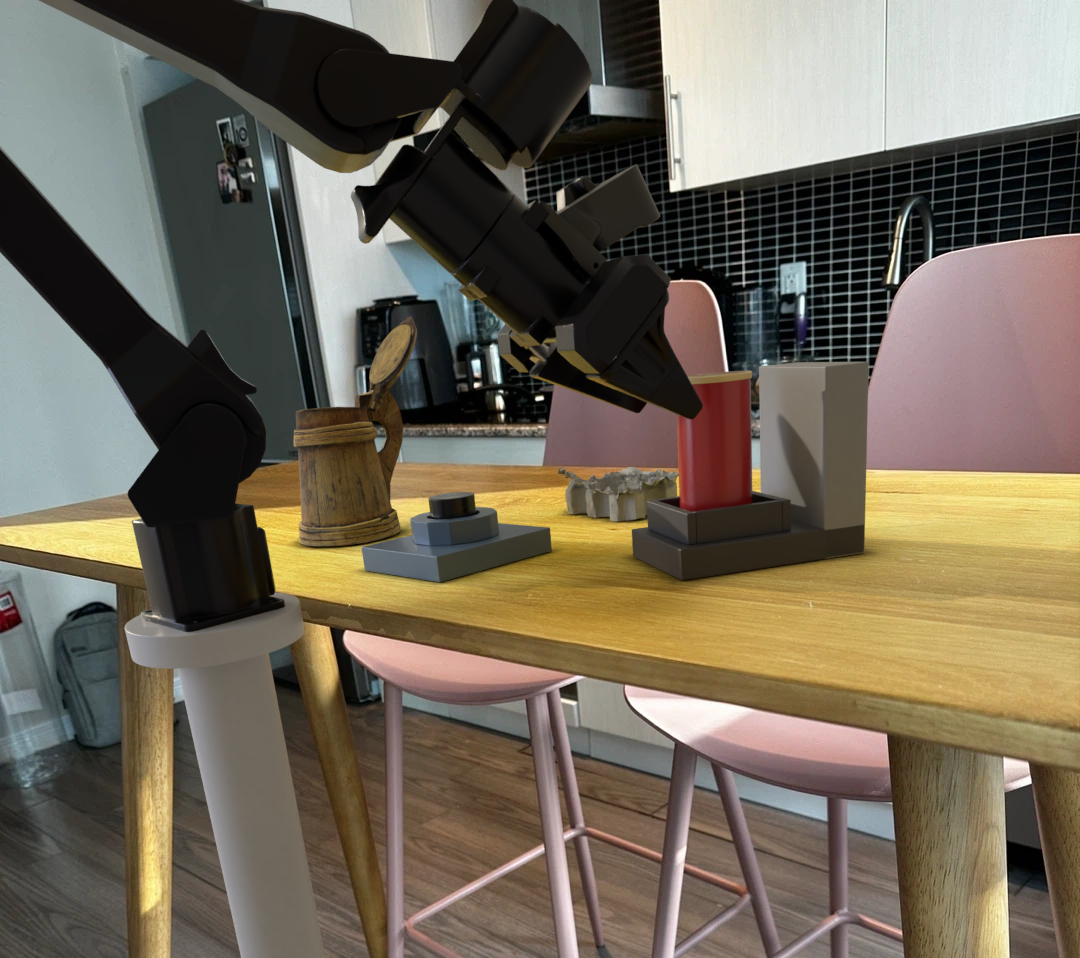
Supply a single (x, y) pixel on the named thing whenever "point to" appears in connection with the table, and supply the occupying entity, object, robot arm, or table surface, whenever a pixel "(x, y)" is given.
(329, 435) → the wooden mug
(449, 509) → the button
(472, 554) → the control pad
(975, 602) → the table surface
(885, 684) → the table surface
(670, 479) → the egg carton
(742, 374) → the red cylinder
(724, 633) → the table surface
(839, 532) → the coffee maker
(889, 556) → the table surface
